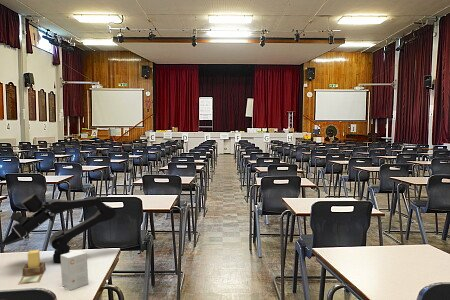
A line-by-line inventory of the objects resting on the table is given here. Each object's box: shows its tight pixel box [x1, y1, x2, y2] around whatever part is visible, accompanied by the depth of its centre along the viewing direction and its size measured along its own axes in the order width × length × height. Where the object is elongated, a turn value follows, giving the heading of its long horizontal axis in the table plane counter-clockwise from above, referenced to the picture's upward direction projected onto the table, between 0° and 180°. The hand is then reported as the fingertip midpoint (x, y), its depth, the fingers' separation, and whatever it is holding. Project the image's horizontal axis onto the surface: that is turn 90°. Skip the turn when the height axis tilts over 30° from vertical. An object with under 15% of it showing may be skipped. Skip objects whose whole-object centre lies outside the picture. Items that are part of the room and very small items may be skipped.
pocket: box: [22, 261, 47, 277], centre depth 177 cm, size 8×8×3 cm
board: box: [17, 272, 45, 286], centre depth 172 cm, size 8×17×1 cm, turn 15°
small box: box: [60, 249, 89, 291], centre depth 163 cm, size 8×6×13 cm
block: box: [27, 249, 41, 268], centre depth 176 cm, size 4×4×9 cm
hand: (3, 244), depth 177 cm, fingers open, 9 cm apart
